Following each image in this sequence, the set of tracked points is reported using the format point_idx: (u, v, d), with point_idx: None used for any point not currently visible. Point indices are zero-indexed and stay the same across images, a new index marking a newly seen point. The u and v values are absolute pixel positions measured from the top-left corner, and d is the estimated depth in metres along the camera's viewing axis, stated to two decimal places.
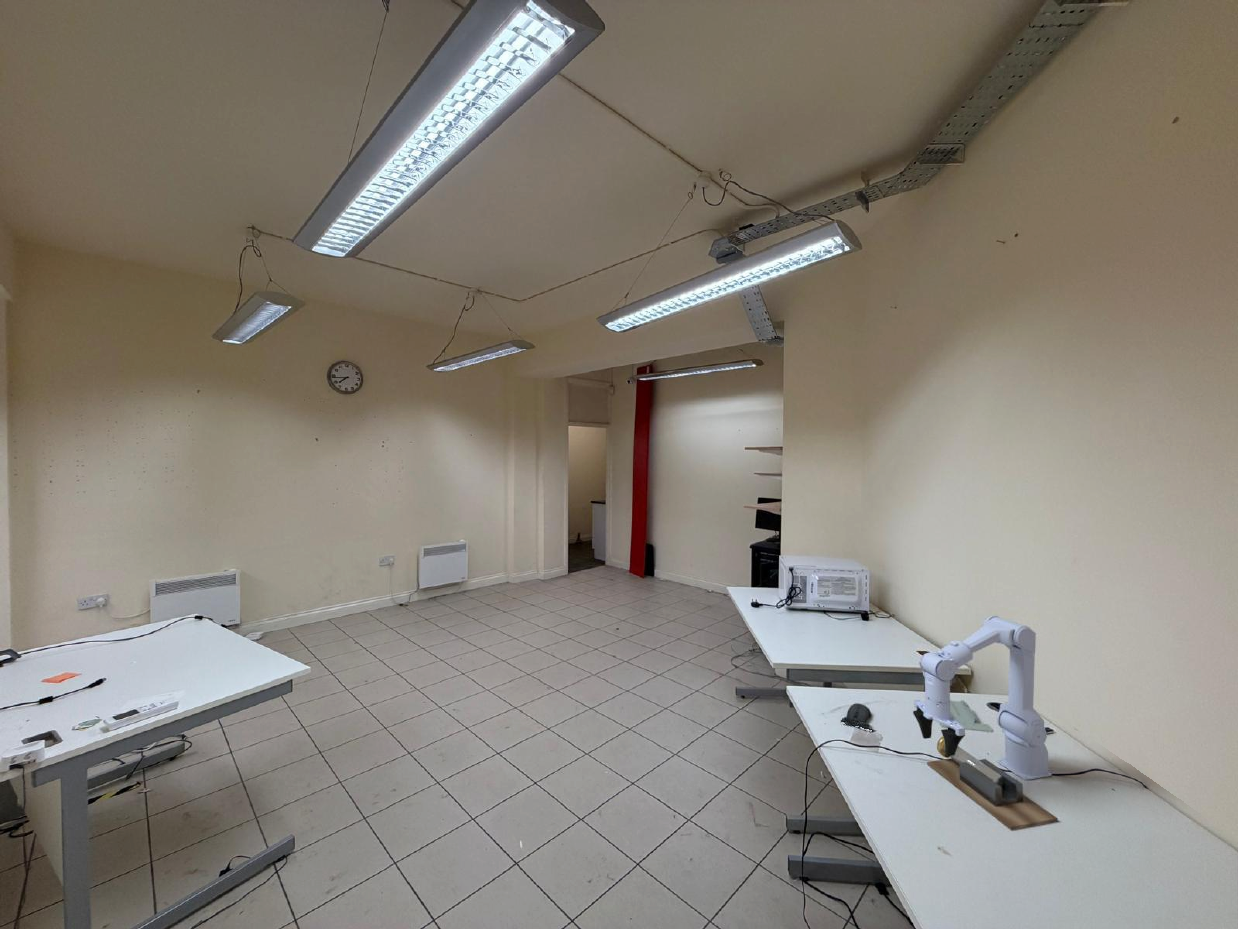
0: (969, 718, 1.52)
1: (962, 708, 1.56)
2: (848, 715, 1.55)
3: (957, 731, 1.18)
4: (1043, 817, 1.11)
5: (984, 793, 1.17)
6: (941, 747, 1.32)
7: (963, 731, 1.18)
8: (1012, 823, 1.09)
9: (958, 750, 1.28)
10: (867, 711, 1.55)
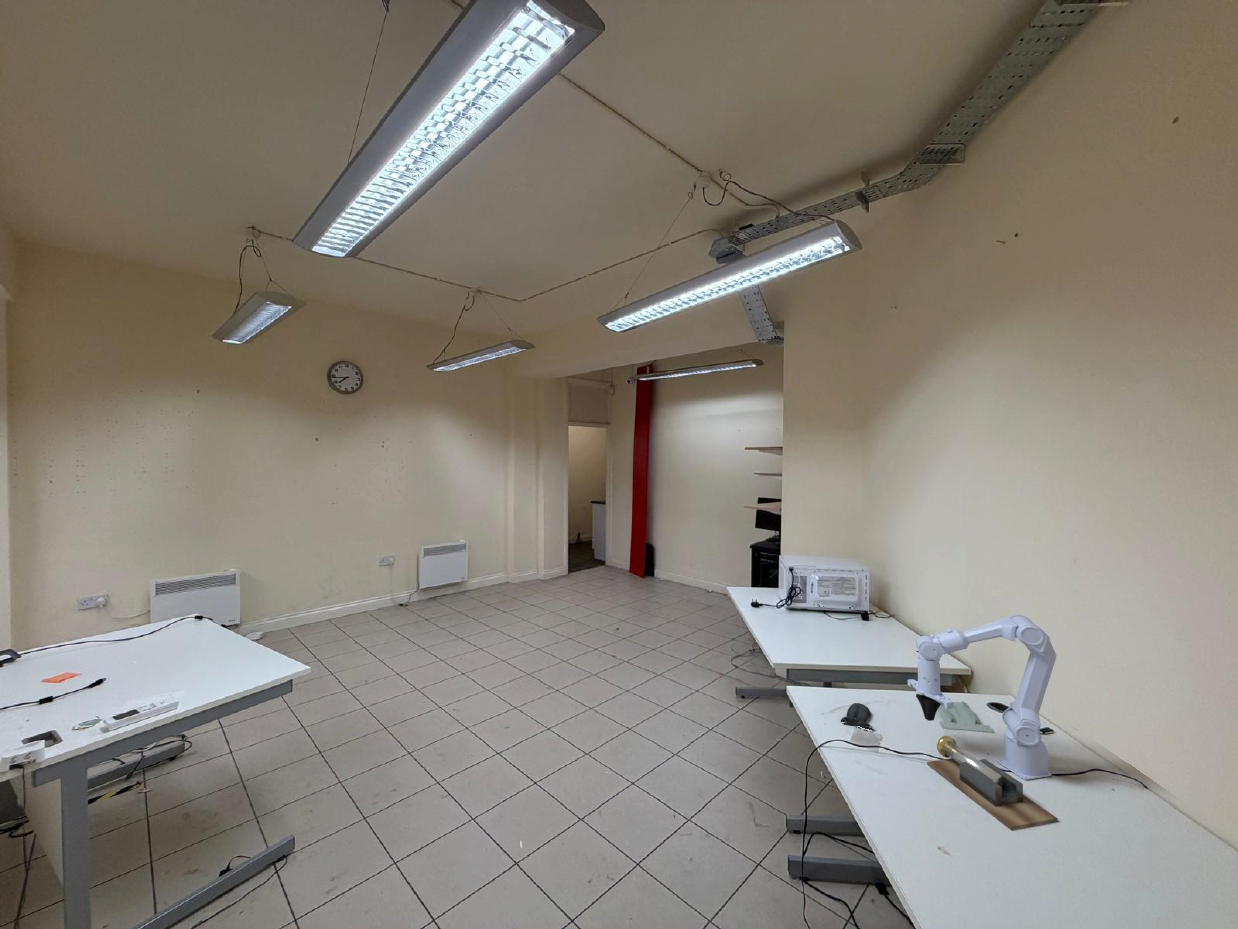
0: (970, 719, 1.51)
1: (963, 709, 1.56)
2: (848, 715, 1.56)
3: (946, 705, 1.32)
4: (1043, 817, 1.11)
5: (984, 793, 1.17)
6: (941, 747, 1.32)
7: (951, 705, 1.32)
8: (1012, 823, 1.09)
9: (958, 750, 1.28)
10: (866, 711, 1.56)
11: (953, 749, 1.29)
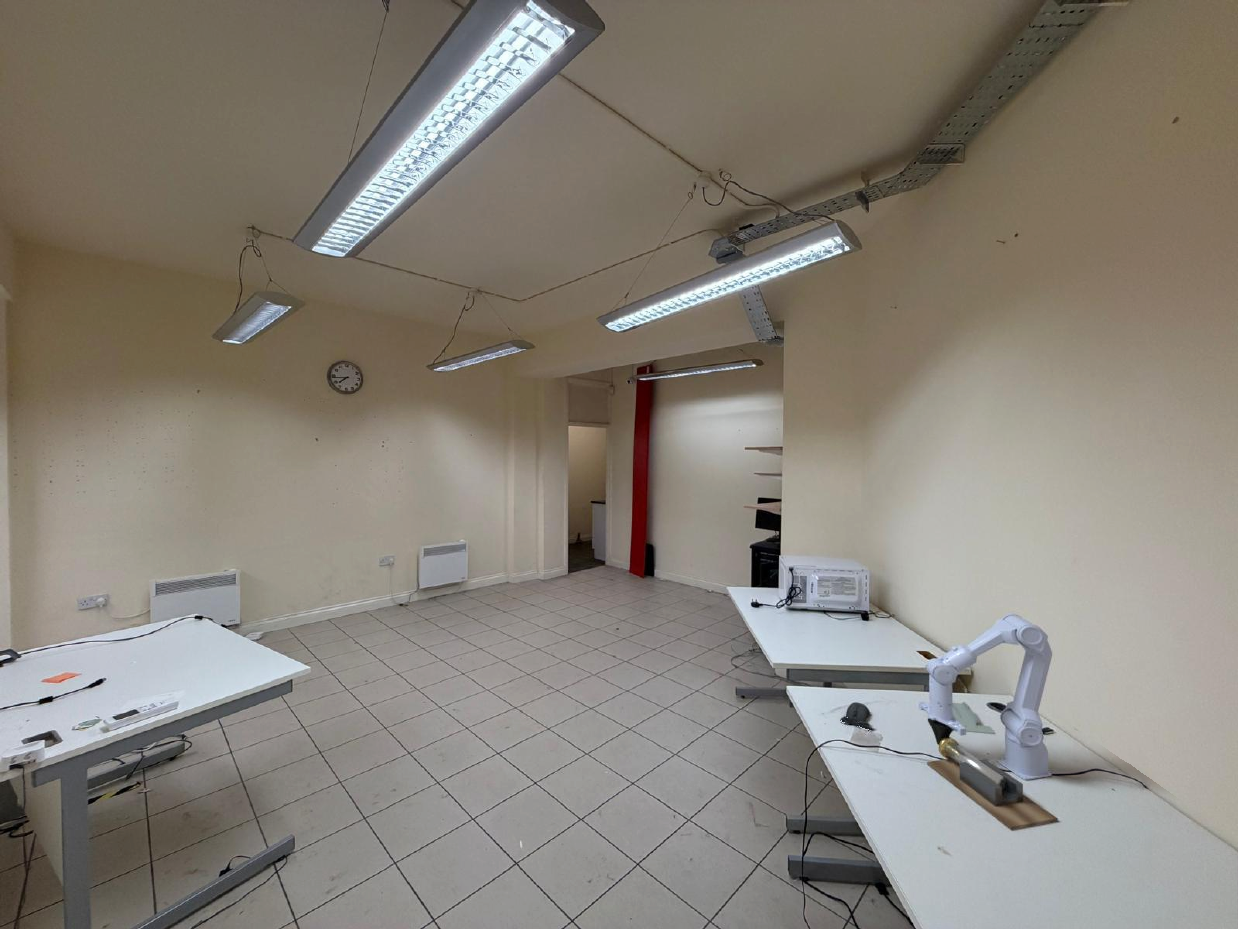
0: (971, 720, 1.51)
1: (963, 710, 1.55)
2: (847, 714, 1.56)
3: (959, 731, 1.28)
4: (1043, 817, 1.11)
5: (984, 793, 1.17)
6: (943, 748, 1.31)
7: (964, 731, 1.27)
8: (1012, 823, 1.09)
9: (960, 751, 1.28)
10: (866, 710, 1.56)
11: (955, 750, 1.29)
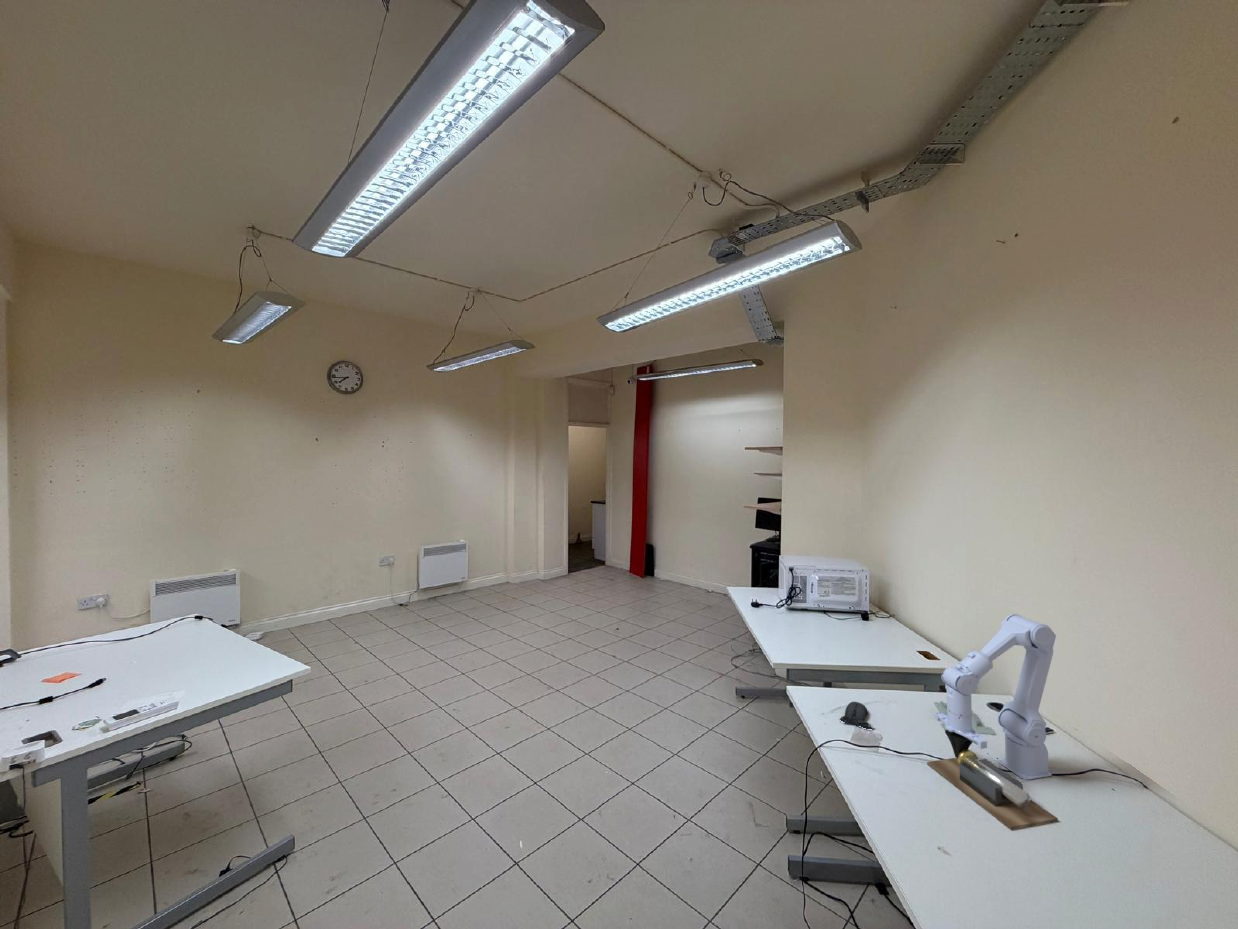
0: None
1: None
2: (846, 714, 1.56)
3: (979, 744, 1.22)
4: (1043, 817, 1.11)
5: (984, 793, 1.17)
6: None
7: (985, 744, 1.22)
8: (1012, 823, 1.09)
9: (980, 765, 1.22)
10: (864, 709, 1.57)
11: (975, 764, 1.23)
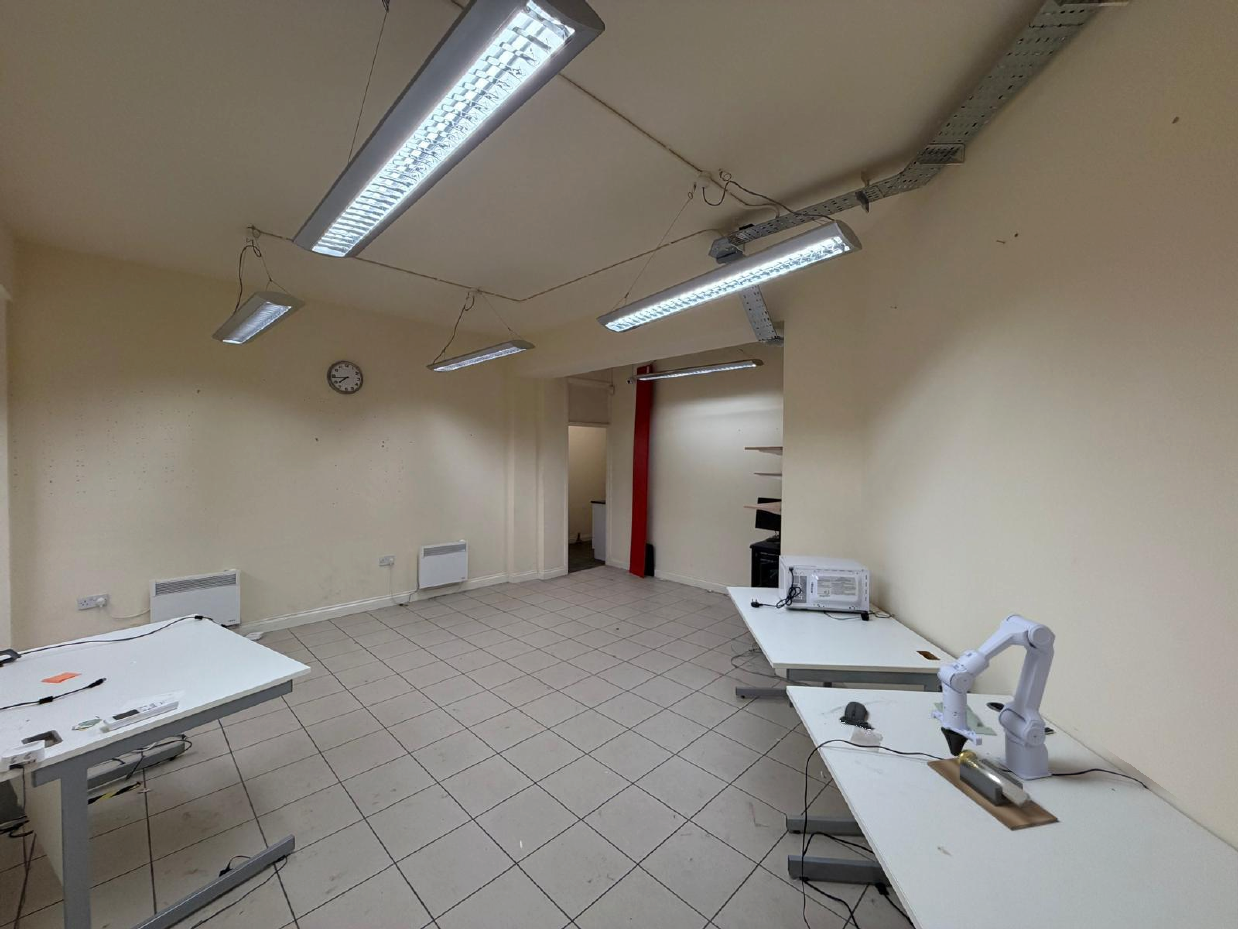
0: (972, 721, 1.50)
1: None
2: (846, 714, 1.56)
3: (975, 741, 1.23)
4: (1043, 817, 1.11)
5: (984, 793, 1.17)
6: None
7: (980, 741, 1.23)
8: (1012, 823, 1.09)
9: (980, 765, 1.22)
10: (863, 709, 1.57)
11: (975, 764, 1.23)
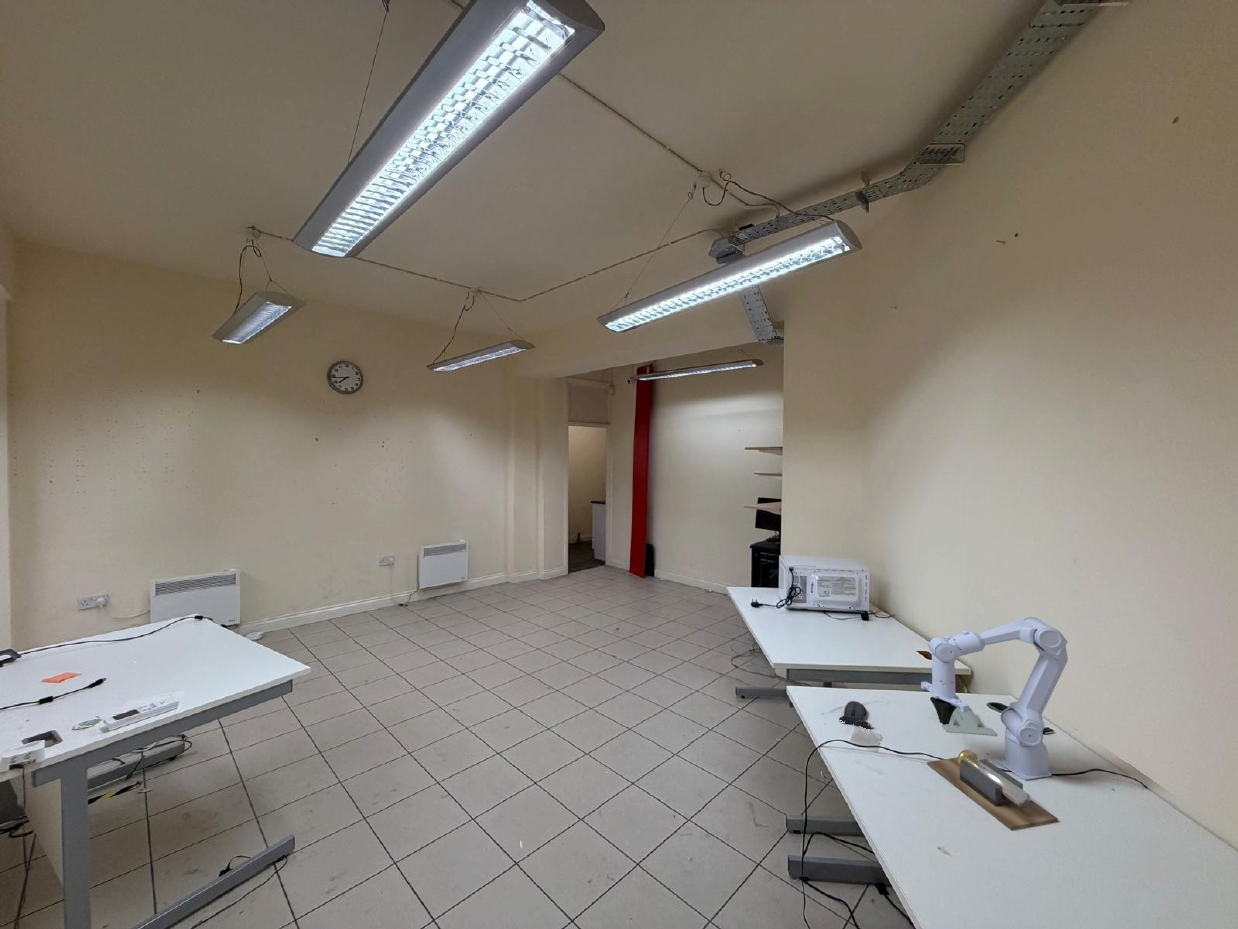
0: (972, 722, 1.50)
1: (965, 712, 1.54)
2: (845, 713, 1.56)
3: (962, 708, 1.28)
4: (1043, 817, 1.11)
5: (984, 793, 1.17)
6: None
7: (967, 708, 1.28)
8: (1012, 823, 1.09)
9: (980, 765, 1.22)
10: (863, 709, 1.57)
11: (975, 764, 1.23)
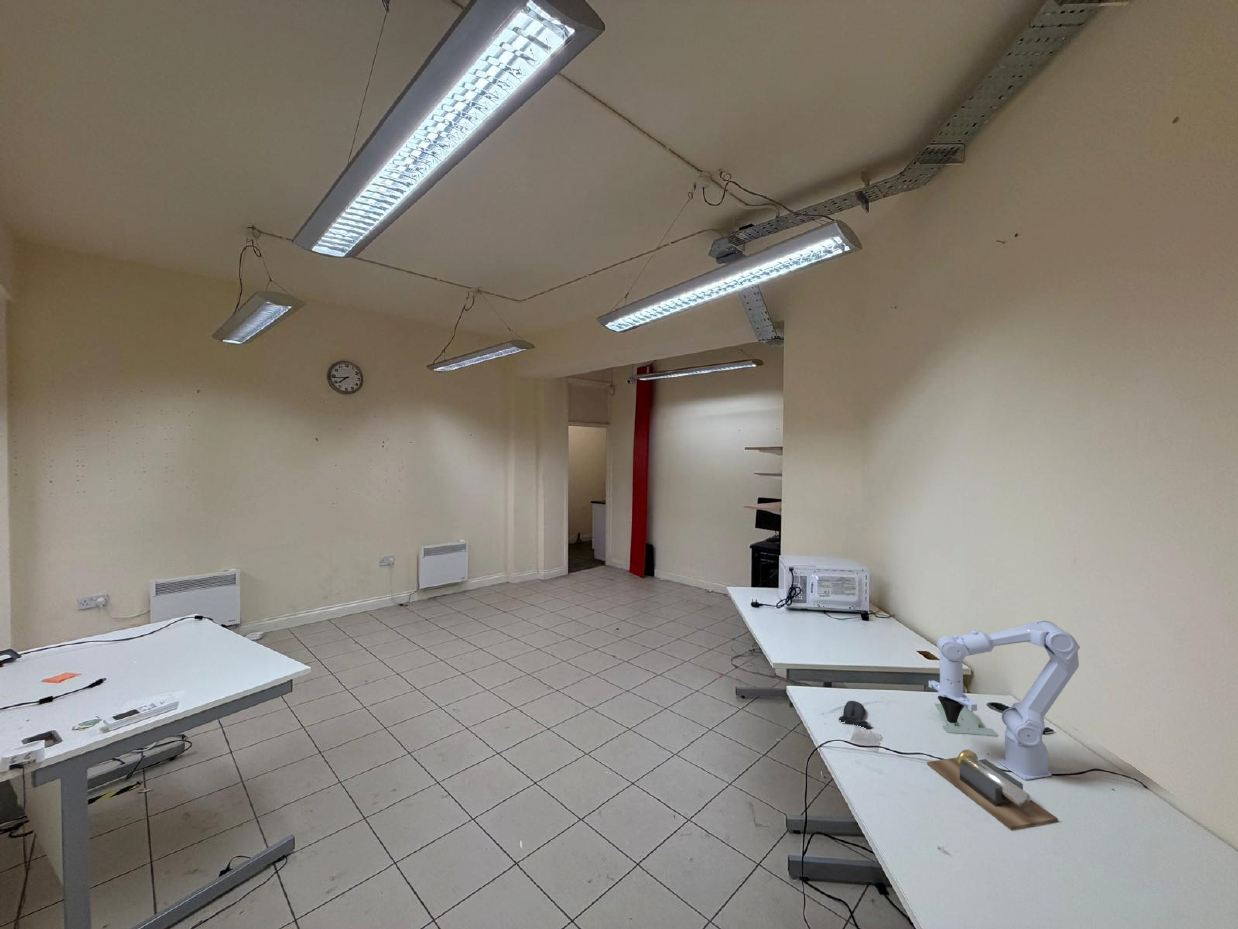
0: (973, 722, 1.50)
1: (965, 712, 1.54)
2: (845, 713, 1.57)
3: (970, 707, 1.28)
4: (1043, 817, 1.11)
5: (984, 793, 1.17)
6: None
7: (975, 707, 1.28)
8: (1012, 823, 1.09)
9: (980, 765, 1.22)
10: (862, 708, 1.57)
11: (975, 764, 1.23)
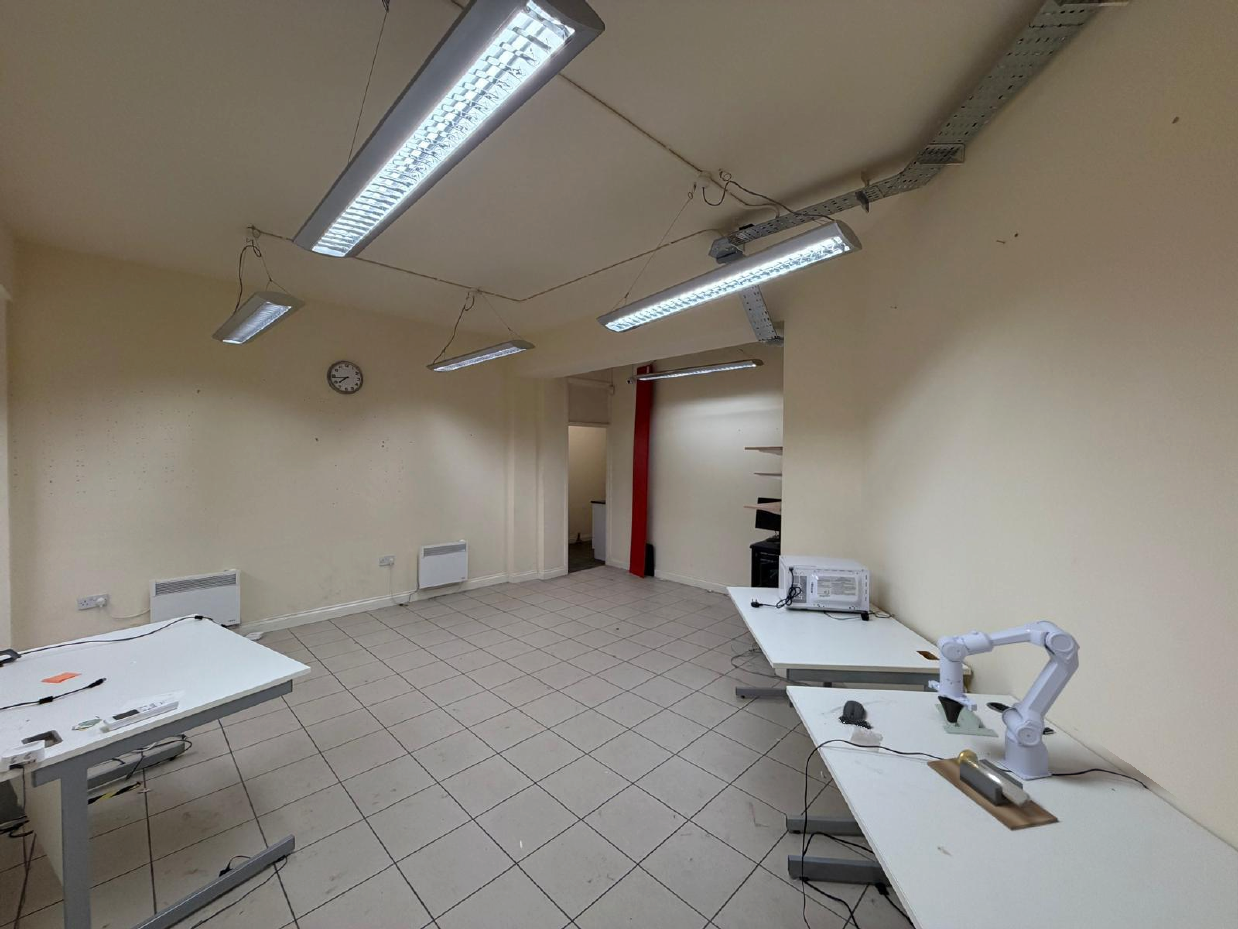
0: (973, 723, 1.49)
1: (965, 712, 1.53)
2: (844, 713, 1.57)
3: (970, 707, 1.28)
4: (1043, 817, 1.11)
5: (984, 793, 1.17)
6: None
7: (975, 707, 1.28)
8: (1012, 823, 1.09)
9: (980, 765, 1.22)
10: (861, 708, 1.57)
11: (975, 764, 1.23)
